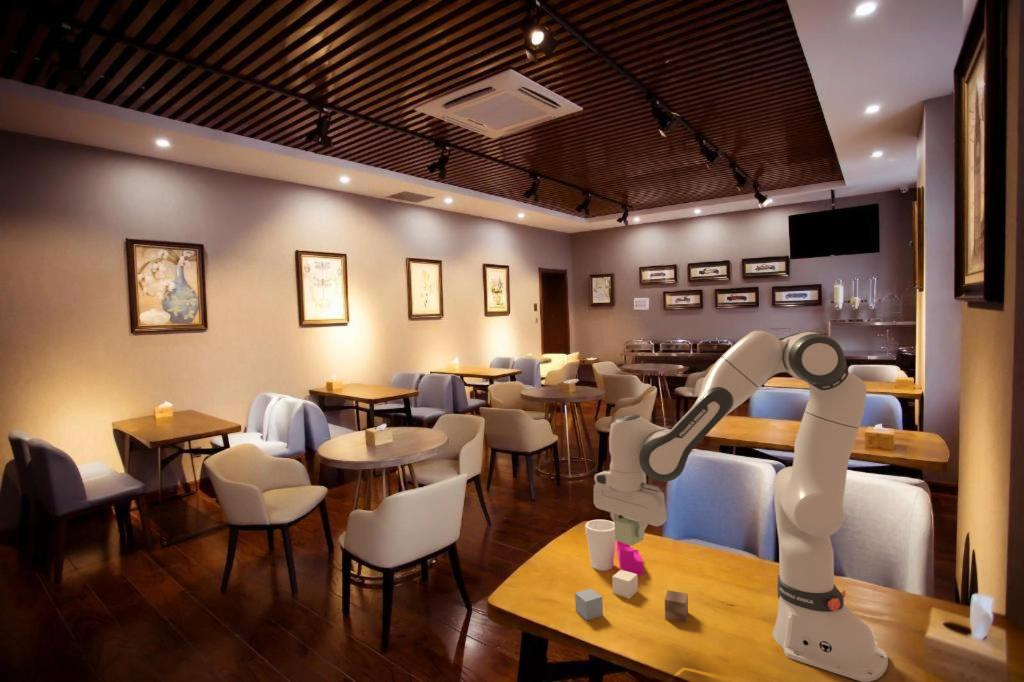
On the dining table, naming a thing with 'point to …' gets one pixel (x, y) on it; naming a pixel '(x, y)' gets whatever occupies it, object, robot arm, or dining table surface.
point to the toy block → (629, 559)
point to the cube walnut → (676, 606)
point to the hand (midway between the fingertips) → (629, 533)
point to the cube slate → (589, 604)
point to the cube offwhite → (625, 583)
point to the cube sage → (627, 531)
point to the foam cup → (601, 543)
